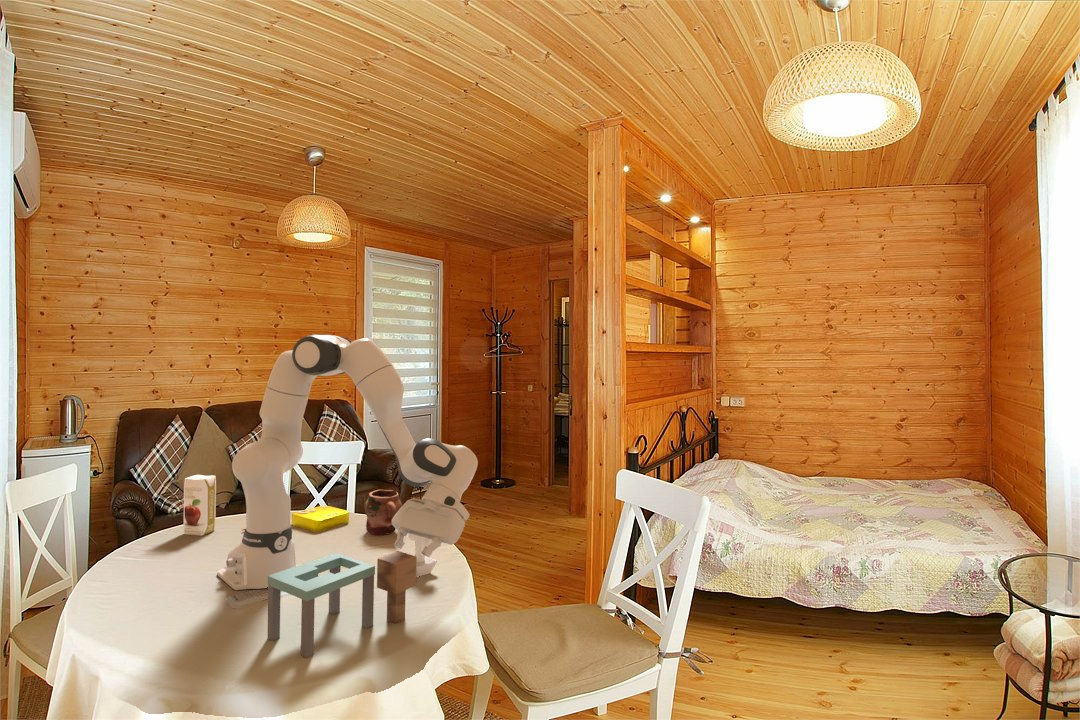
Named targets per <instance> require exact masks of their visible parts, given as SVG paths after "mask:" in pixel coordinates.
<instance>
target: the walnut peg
mask: <svg viewBox="0 0 1080 720" xmlns="http://www.w3.org/2000/svg"><path fill="white" fill-rule="evenodd" d="M416 561H417V557H416V556H415V555H413V554H410V553H406V552H403V551H400V550H396V551H394V552H391V553H388V554H386V555H382V556H380V557H377V561H376V562H377V565H376V566H377V567H376V588H377V589H380V590H382V591H385V592H386V595H387V596H386V621H387V622H390V623H393V624H395V625H396V624H398V623H400V622H402V621H404V620H405V619H406V590H409V589H411V588H413V587H415V586H417V577H416Z"/></svg>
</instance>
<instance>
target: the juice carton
mask: <svg viewBox="0 0 1080 720" xmlns="http://www.w3.org/2000/svg"><path fill="white" fill-rule="evenodd" d="M216 496H217V479H216V475H204V474H203V475H202V474H195V475H191V476H189V477H185V478H184V483H183V534H184V535H187V536H199V537H200V536H205V535H207V534H209V533H212V532H214V531H215V528H216V515H217V514H216V511H217V510H216V509H217V508H216V506H217V505H216V504H217V503H216V502H217V499H216V498H217V497H216Z"/></svg>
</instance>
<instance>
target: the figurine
mask: <svg viewBox="0 0 1080 720" xmlns="http://www.w3.org/2000/svg"><path fill="white" fill-rule="evenodd" d="M407 536H408V538H409V540H410V541H413V542H414V544H415V545H414V546H415V547H414V556H416V557H417V561H416V576H417V577H416V578H420V577H423V576H425V574H426V575H428V573H429V574H431V572H432V570H433V569H434V567H435V566H436V565H437V563H438V559H435V558H432V557H431V556H430V557H427V556H424V555H423V554H422V550H423V549H424V547H425V546H426V547H428V546H429V545H430V544H431V543H432V542H433V541H432V539H428V538H424V537H421V536H417V535H413V534H410V533H407ZM432 554H433V552H432V553H431V555H432ZM422 575H423V576H422ZM419 576H420V577H419Z"/></svg>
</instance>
